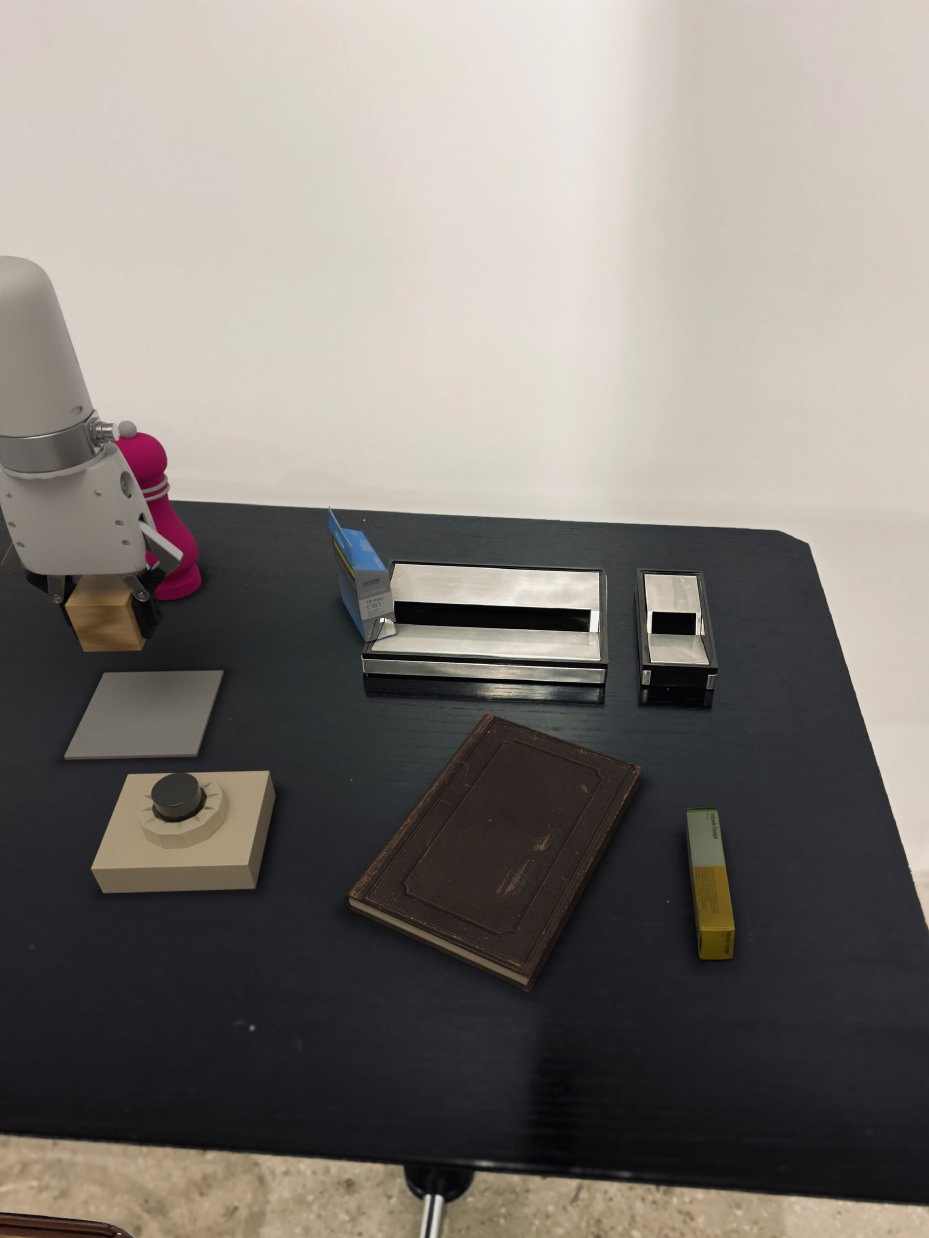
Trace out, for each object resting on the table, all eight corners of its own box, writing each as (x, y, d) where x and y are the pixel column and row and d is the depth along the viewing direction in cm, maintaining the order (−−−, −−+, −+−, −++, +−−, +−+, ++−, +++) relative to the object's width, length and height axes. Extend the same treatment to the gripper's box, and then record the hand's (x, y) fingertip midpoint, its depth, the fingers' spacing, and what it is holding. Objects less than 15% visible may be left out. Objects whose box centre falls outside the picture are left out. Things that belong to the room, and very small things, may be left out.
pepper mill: (128, 598, 99) (71, 432, 86) (162, 564, 104) (113, 402, 91) (186, 608, 98) (137, 441, 85) (217, 573, 103) (176, 410, 90)
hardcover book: (639, 784, 79) (642, 766, 77) (529, 993, 63) (529, 976, 62) (483, 728, 84) (483, 711, 83) (346, 909, 69) (342, 891, 67)
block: (83, 652, 76) (64, 605, 73) (101, 618, 80) (83, 572, 77) (141, 650, 77) (124, 604, 73) (156, 616, 80) (141, 571, 77)
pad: (65, 759, 80) (63, 756, 80) (105, 675, 89) (104, 672, 89) (197, 756, 81) (196, 753, 80) (224, 673, 90) (223, 670, 89)
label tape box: (398, 635, 95) (388, 538, 87) (362, 645, 93) (349, 547, 85) (373, 593, 101) (361, 497, 92) (338, 601, 99) (324, 505, 91)
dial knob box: (103, 893, 69) (83, 854, 66) (138, 798, 77) (121, 759, 74) (255, 889, 70) (243, 849, 67) (275, 795, 77) (265, 755, 74)
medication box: (683, 837, 75) (685, 805, 72) (715, 836, 74) (718, 804, 72) (697, 961, 65) (699, 929, 63) (734, 961, 65) (738, 929, 62)
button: (152, 823, 69) (145, 806, 68) (164, 789, 72) (157, 772, 70) (198, 822, 69) (192, 805, 68) (208, 788, 72) (202, 771, 70)
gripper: (174, 416, 69) (224, 603, 81) (-46, 419, 68) (37, 607, 81) (149, 460, 64) (206, 654, 76) (-91, 464, 63) (5, 659, 75)
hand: (118, 628), depth 78 cm, fingers closed on block, 5 cm apart
